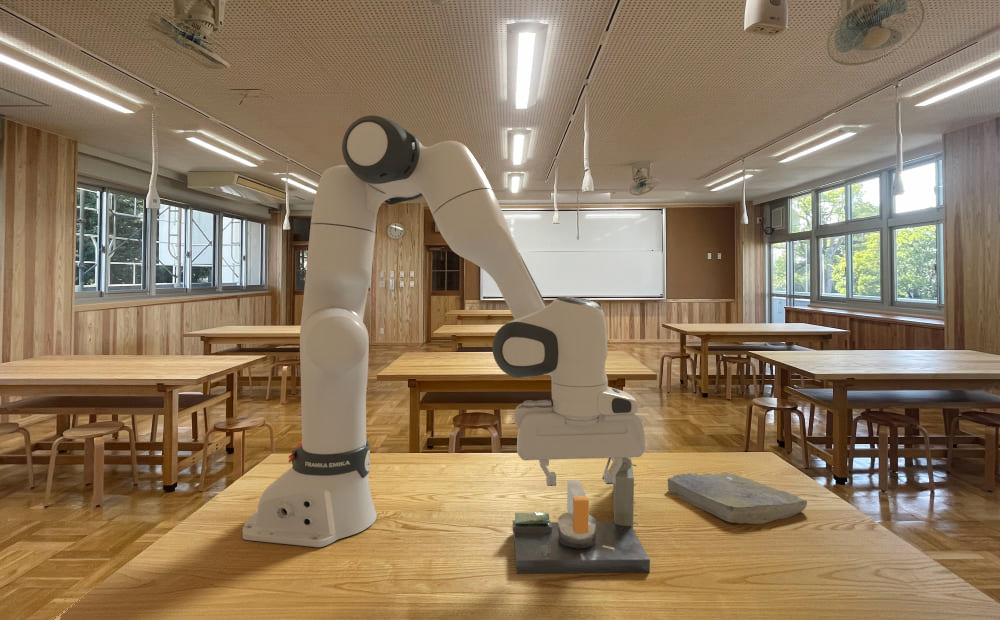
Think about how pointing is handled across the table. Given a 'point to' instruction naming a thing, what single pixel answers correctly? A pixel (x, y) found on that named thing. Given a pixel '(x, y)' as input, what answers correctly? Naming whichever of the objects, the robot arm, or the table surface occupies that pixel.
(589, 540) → the knob
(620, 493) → the geiger counter
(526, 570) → the stand
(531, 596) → the table surface
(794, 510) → the grey stone slab
